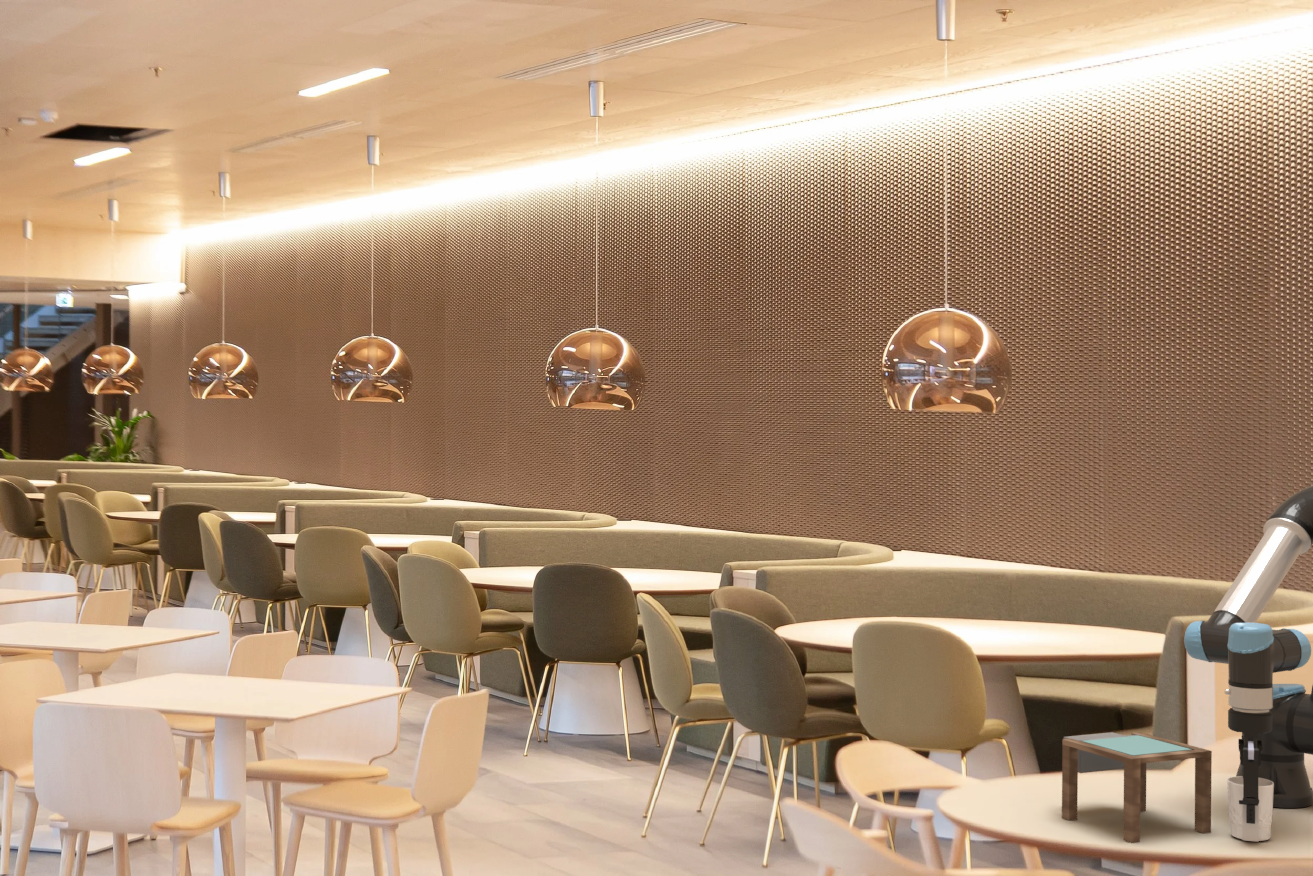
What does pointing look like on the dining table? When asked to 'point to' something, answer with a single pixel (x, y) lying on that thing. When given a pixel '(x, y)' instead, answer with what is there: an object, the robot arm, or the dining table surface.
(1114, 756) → the frame
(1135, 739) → the trapdoor
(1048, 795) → the dining table surface
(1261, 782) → the white cup
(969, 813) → the dining table surface
